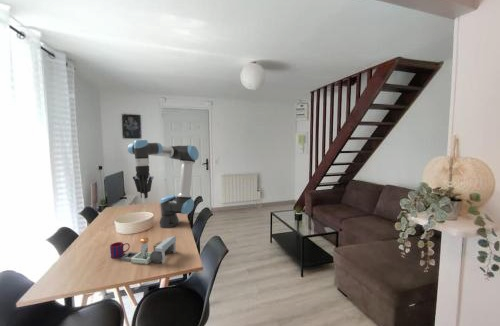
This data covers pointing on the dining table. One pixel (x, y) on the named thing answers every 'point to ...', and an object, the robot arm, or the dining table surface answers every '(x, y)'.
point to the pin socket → (126, 257)
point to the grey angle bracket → (163, 250)
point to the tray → (141, 261)
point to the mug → (117, 249)
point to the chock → (157, 244)
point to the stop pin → (144, 248)
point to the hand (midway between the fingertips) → (144, 203)
